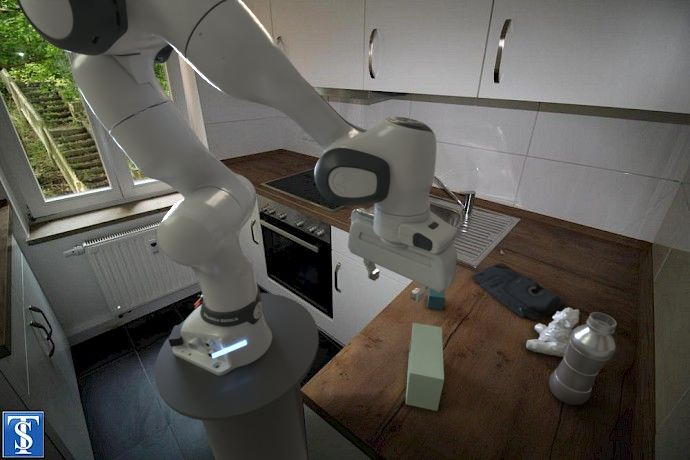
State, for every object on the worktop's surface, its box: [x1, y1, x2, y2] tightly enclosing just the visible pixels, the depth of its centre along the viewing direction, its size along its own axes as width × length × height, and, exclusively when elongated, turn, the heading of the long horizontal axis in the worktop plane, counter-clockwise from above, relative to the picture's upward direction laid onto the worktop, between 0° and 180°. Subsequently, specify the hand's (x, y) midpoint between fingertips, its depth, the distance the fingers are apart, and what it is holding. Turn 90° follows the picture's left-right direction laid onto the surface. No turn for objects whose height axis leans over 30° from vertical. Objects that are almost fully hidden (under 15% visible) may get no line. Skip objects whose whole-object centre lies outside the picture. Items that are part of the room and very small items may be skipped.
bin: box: [405, 322, 445, 412], centre depth 64 cm, size 6×13×9 cm, turn 167°
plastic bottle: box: [548, 311, 617, 406], centre depth 58 cm, size 6×7×20 cm
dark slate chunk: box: [471, 262, 565, 321], centre depth 91 cm, size 15×22×5 cm
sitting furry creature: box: [525, 306, 580, 358], centre depth 71 cm, size 10×9×12 cm
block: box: [426, 288, 446, 310], centre depth 86 cm, size 4×4×4 cm
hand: (394, 288), depth 58 cm, fingers open, 8 cm apart
